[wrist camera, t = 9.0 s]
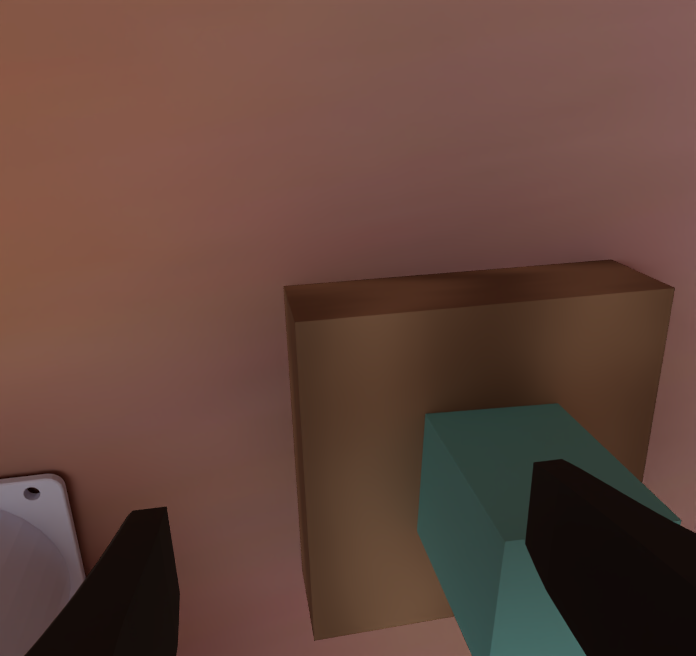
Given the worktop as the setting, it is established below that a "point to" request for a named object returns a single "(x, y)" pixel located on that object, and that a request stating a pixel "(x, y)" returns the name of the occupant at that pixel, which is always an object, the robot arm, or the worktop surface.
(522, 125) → the worktop surface
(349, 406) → the walnut base
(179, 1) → the worktop surface
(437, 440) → the teal block
